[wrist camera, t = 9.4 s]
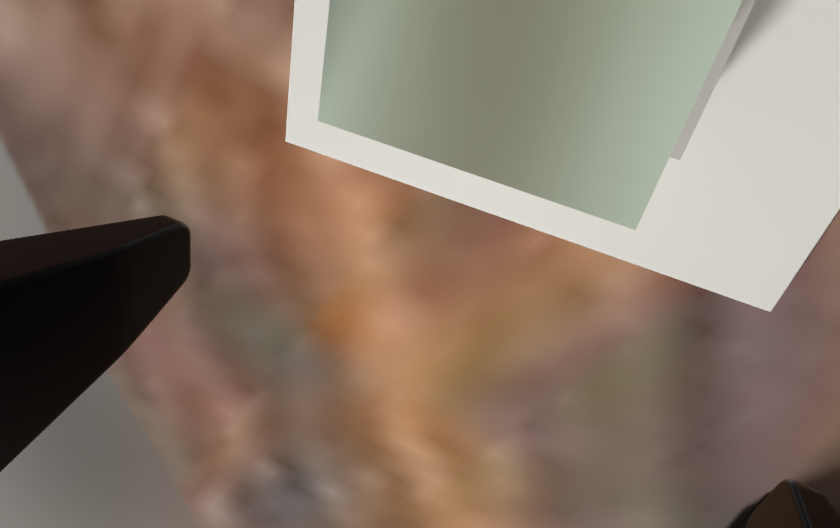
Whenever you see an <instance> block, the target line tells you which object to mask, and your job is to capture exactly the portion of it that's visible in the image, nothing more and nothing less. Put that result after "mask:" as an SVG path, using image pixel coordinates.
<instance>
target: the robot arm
mask: <svg viewBox="0 0 840 528" xmlns="http://www.w3.org/2000/svg"><path fill="white" fill-rule="evenodd" d="M190 267H191V243H190V230H189V227H188V226H187V225H186V224H185V223H183V222H180V221H178V220H176V219H173V218H171V217H168V216H163V215H161V216H154V217H148V218H142V219H135V220H129V221H123V222H116V223H110V224H104V225H97V226H91V227H85V228H79V229H72V230H66V231H60V232H53V233H47V234H41V235H35V236H28V237H22V238H15V239H9V240H3V241H0V472H1V471H2V470H3V469H4V468H5V467H6V466H7V465H8V464H9V463H10V462H11V461H12V460H13V459H14V458H15V457H16V456H17V455H19V454H20V453H21V452H22V451H23V450H24V449H25V448H26V447H27V446H28V445H29V444H30V443H31V442H32V441H33V440H34V439H35V438H36V437H37V436H38V435H39V434H40V433H41V432H42V431H43V430H45V429H46V428H47V427H48V426H49V425H50V424H51V423H52V422H53V421H54V420H55V419H56V418H57V417H58V416H59V415H60V414H61V413H62V412H63V411H64V410H65V409H66V408H68V406H70V404H72V403H73V402H74V401H75V400H76V399H77V398H78V397H79V396H80V395H81V394H82V393H83V392H84V391H85V390H86V389H87V388H88V387H89V386H90V385H92V384H93V383H94V382H95V381H96V380H97V379H98V378H99V377H100V376H101V375H102V374H103V373H104V372H105V371H106V370H107V369H108V368H109V367H110V366H111V365H112V364H113V363H114V362H115V361H116V360H117V359H118V358H119V357H120V356H121V355H122V354H123V353H124V352H125V351H126V350H127V349H128V348H129V347H130V346H131V345H132V344H133V342H134V341H135V340H136V339H137V338H138V337H139V336H140V334H141V333H142V332H143V331H144V330H145V328H146V327H147V326H148V325H149V324H150V323H151V321H152V320H153V319H154V318H155V317H156V315H157V314H158V313H159V312H160V311H161V309H162V308H163V307H164V306H165V305H166V304H167V302H168V301H169V300H170V299H171V298H172V296H173V295H174V294H175V293H176V292H177V291H178V289H179V288H180V287H181V286H182V285H183V283H184V282H185V281H186V279H187V277H188V275H189V272H190ZM738 528H840V516H839V515H838V513H837V512H836V511H835V509H834V508H833V506H832V505H831V504H830V502H829V501H828V500H827V498H826V497H825V496H824V495H823V494H822V493H821V492H820V491H818V490H816V489H814V488H811V487H809V486H807V485H804V484H802V483H799V482H797V481H795V480H791V479H786V480H784V481H782V482H780V483H779V484H778V485H777V486H776V487H775V488H774V490H773V491H772V492H771V493H770V494H769V495H768V496H767V497H766V499H765V500H764V501H762V502H760V503H759V504H758V505H757V506H756V507H755V508H754V509H753V511H752V512H751V513H750V514H749V515H748V516H747V518H746V519H745V520H744V521H743V522H742V523H741V525H740V526H739V527H738Z"/></svg>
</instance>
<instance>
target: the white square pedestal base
mask: <svg viewBox="0 0 840 528" xmlns="http://www.w3.org/2000/svg"><path fill="white" fill-rule="evenodd" d="M329 3H330V0H295V5H294V20H293V35H292V50H291V65H290V80H289V95H288V110H287V125H286V140H285V141H286V142H289V143H292V144H295V145H297V146H300V147H303V148H306V149H309V150H312V151H315V152H317V153H320V154H323V155H326V156H329V157H332V158H334V159H337V160H340V161H343V162H346V163H349V164H351V165H354V166H357V167H360V168H363V169H366V170H368V171H371V172H374V173H377V174H380V175H383V176H386V177H388V178H391V179H394V180H397V181H400V182H403V183H405V184H408V185H411V186H414V187H417V188H420V189H422V190H425V191H428V192H431V193H434V194H437V195H440V196H442V197H445V198H448V199H451V200H454V201H457V202H459V203H462V204H465V205H468V206H471V207H474V208H476V209H479V210H482V211H485V212H488V213H491V214H494V215H496V216H499V217H502V218H505V219H508V220H511V221H513V222H516V223H519V224H522V225H525V226H528V227H530V228H533V229H536V230H539V231H542V232H545V233H548V234H550V235H553V236H556V237H559V238H562V239H565V240H567V241H570V242H573V243H576V244H579V245H582V246H584V247H587V248H590V249H593V250H596V251H599V252H602V253H604V254H607V255H610V256H613V257H616V258H619V259H621V260H624V261H627V262H630V263H633V264H636V265H638V266H641V267H644V268H647V269H650V270H653V271H656V272H658V273H661V274H664V275H667V276H670V277H673V278H675V279H678V280H681V281H684V282H687V283H690V284H692V285H695V286H698V287H701V288H704V289H707V290H710V291H712V292H715V293H718V294H721V295H724V296H727V297H729V298H732V299H735V300H738V301H741V302H744V303H746V304H749V305H752V306H755V307H758V308H761V309H764V310H766V311H769V312H771V310H772V309H773V307H774V306H775V304H776V303H777V301H778V300H779V298H780V297H781V295H782V294H783V292H784V291H785V289H786V288H787V286H788V285H789V283H790V282H791V280H792V279H793V277H794V276H795V274H796V273H797V271H798V270H799V269H800V267H801V266H802V264H803V263H804V261H805V260H806V258H807V257H808V255H809V254H810V252H811V251H812V249H813V248H814V246H815V245H816V243H817V242H818V240H819V239H820V237H821V236H822V234H823V233H824V231H825V230H826V228H827V227H828V225H829V224H830V222H831V221H832V219H833V218H834V216H835V215H836V213H837V212H838V210H839V209H840V0H742V2H741V5H740V7H739V9H738V11H737V13H736V15H735V18H734V20H733V22H732V24H731V26H730V28H729V30H728V33H727V35H726V37H725V39H724V41H723V43H722V45H721V48H720V50H719V52H718V54H717V56H716V58H715V61H714V63H713V65H712V67H711V69H710V71H709V73H708V76H707V78H706V80H705V82H704V84H703V86H702V89H701V91H700V93H699V95H698V97H697V99H696V101H695V104H694V106H693V108H692V110H691V112H690V114H689V116H688V119H687V121H686V123H685V125H684V127H683V129H682V132H681V134H680V136H679V138H678V140H677V142H676V144H675V147H674V149H673V151H672V153H671V155H670V157H669V159H668V162H667V164H666V166H665V168H664V170H663V172H662V175H661V177H660V179H659V181H658V183H657V185H656V187H655V190H654V192H653V194H652V196H651V198H650V200H649V202H648V205H647V207H646V209H645V211H644V213H643V215H642V218H641V220H640V222H639V224H638V226H637V228H636V230H633V229H631V228H628V227H625V226H622V225H619V224H616V223H613V222H610V221H607V220H604V219H601V218H599V217H596V216H593V215H590V214H587V213H584V212H581V211H578V210H575V209H572V208H570V207H567V206H564V205H561V204H558V203H555V202H552V201H549V200H546V199H543V198H540V197H538V196H535V195H532V194H529V193H526V192H523V191H520V190H517V189H514V188H511V187H508V186H506V185H503V184H500V183H497V182H494V181H491V180H488V179H485V178H482V177H479V176H477V175H474V174H471V173H468V172H465V171H462V170H459V169H456V168H453V167H450V166H447V165H445V164H442V163H439V162H436V161H433V160H430V159H427V158H424V157H421V156H418V155H415V154H413V153H410V152H407V151H404V150H401V149H398V148H395V147H392V146H389V145H386V144H383V143H381V142H378V141H375V140H372V139H369V138H366V137H363V136H360V135H357V134H354V133H352V132H349V131H346V130H343V129H340V128H337V127H334V126H331V125H328V124H325V123H322V122H320V121H318V113H319V103H320V93H321V83H322V73H323V63H324V53H325V43H326V33H327V23H328V13H329Z"/></svg>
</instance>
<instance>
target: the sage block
mask: <svg viewBox="0 0 840 528" xmlns="http://www.w3.org/2000/svg"><path fill="white" fill-rule="evenodd" d="M741 2H742V0H330V3H329V13H328V23H327V33H326V43H325V53H324V63H323V73H322V83H321V93H320V103H319V113H318V121H320V122H322V123H325V124H328V125H331V126H334V127H337V128H340V129H343V130H346V131H349V132H352V133H354V134H357V135H360V136H363V137H366V138H369V139H372V140H375V141H378V142H381V143H383V144H386V145H389V146H392V147H395V148H398V149H401V150H404V151H407V152H410V153H413V154H415V155H418V156H421V157H424V158H427V159H430V160H433V161H436V162H439V163H442V164H445V165H447V166H450V167H453V168H456V169H459V170H462V171H465V172H468V173H471V174H474V175H477V176H479V177H482V178H485V179H488V180H491V181H494V182H497V183H500V184H503V185H506V186H508V187H511V188H514V189H517V190H520V191H523V192H526V193H529V194H532V195H535V196H538V197H540V198H543V199H546V200H549V201H552V202H555V203H558V204H561V205H564V206H567V207H570V208H572V209H575V210H578V211H581V212H584V213H587V214H590V215H593V216H596V217H599V218H601V219H604V220H607V221H610V222H613V223H616V224H619V225H622V226H625V227H628V228H631V229H633V230H636V228H637V226H638V224H639V222H640V220H641V218H642V215H643V213H644V211H645V209H646V207H647V205H648V202H649V200H650V198H651V196H652V194H653V192H654V190H655V187H656V185H657V183H658V181H659V179H660V177H661V175H662V172H663V170H664V168H665V166H666V164H667V162H668V159H669V157H670V155H671V153H672V151H673V149H674V147H675V144H676V142H677V140H678V138H679V136H680V134H681V132H682V129H683V127H684V125H685V123H686V121H687V119H688V116H689V114H690V112H691V110H692V108H693V106H694V104H695V101H696V99H697V97H698V95H699V93H700V91H701V89H702V86H703V84H704V82H705V80H706V78H707V76H708V73H709V71H710V69H711V67H712V65H713V63H714V61H715V58H716V56H717V54H718V52H719V50H720V48H721V45H722V43H723V41H724V39H725V37H726V35H727V33H728V30H729V28H730V26H731V24H732V22H733V20H734V18H735V15H736V13H737V11H738V9H739V7H740V5H741Z"/></svg>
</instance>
